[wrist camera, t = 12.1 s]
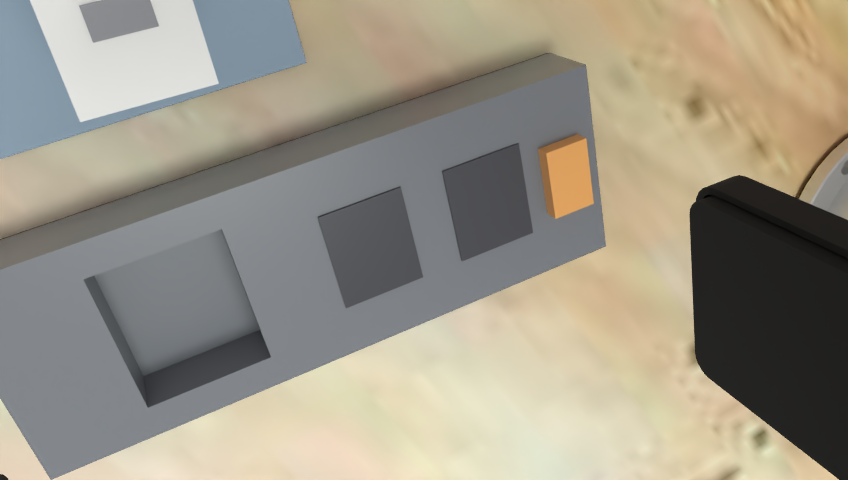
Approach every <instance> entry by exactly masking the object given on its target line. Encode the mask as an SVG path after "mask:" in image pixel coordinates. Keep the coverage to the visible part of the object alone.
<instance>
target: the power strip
mask: <svg viewBox="0 0 848 480" xmlns="http://www.w3.org/2000/svg"><path fill="white" fill-rule="evenodd" d="M605 246H606V243H605V234H604V225H603V216H602V206H601V197H600V188H599V179H598V170H597V161H596V152H595V143H594V134H593V124H592V115H591V106H590V97H589V88H588V79H587V70H586V65H585V64H582V63H579V62H576V61H573V60H569V59H566V58H563V57H560V56H557V55H554V54H551V53H547V54H545V55H542V56H539V57H536V58H533V59H530V60H527V61H524V62H521V63H518V64H515V65H512V66H509V67H506V68H503V69H500V70H498V71H495V72H492V73H489V74H486V75H483V76H480V77H477V78H474V79H471V80H468V81H465V82H462V83H459V84H456V85H453V86H451V87H448V88H445V89H442V90H439V91H436V92H433V93H430V94H427V95H424V96H421V97H418V98H415V99H412V100H409V101H406V102H403V103H401V104H398V105H395V106H392V107H389V108H386V109H383V110H380V111H377V112H374V113H371V114H368V115H365V116H362V117H359V118H356V119H354V120H351V121H348V122H345V123H342V124H339V125H336V126H333V127H330V128H327V129H324V130H321V131H318V132H315V133H312V134H309V135H307V136H304V137H301V138H298V139H295V140H292V141H289V142H286V143H283V144H280V145H277V146H274V147H271V148H268V149H265V150H262V151H260V152H257V153H254V154H251V155H248V156H245V157H242V158H239V159H236V160H233V161H230V162H227V163H224V164H221V165H218V166H215V167H213V168H210V169H207V170H204V171H201V172H198V173H195V174H192V175H189V176H186V177H183V178H180V179H177V180H174V181H171V182H168V183H166V184H163V185H160V186H157V187H154V188H151V189H148V190H145V191H142V192H139V193H136V194H133V195H130V196H127V197H124V198H121V199H119V200H116V201H113V202H110V203H107V204H104V205H101V206H98V207H95V208H92V209H89V210H86V211H83V212H80V213H77V214H74V215H72V216H69V217H66V218H63V219H60V220H57V221H54V222H51V223H48V224H45V225H42V226H39V227H36V228H33V229H30V230H27V231H25V232H22V233H19V234H16V235H13V236H10V237H7V238H4V239H1V240H0V399H1V400H2V402H3V403H4V405H5V407H6V408H7V410H8V411H9V413H10V415H11V416H12V418H13V420H14V421H15V423H16V424H17V426H18V428H19V429H20V431H21V432H22V434H23V436H24V437H25V439H26V440H27V442H28V444H29V445H30V447H31V449H32V450H33V452H34V453H35V455H36V457H37V458H38V460H39V461H40V463H41V465H42V466H43V468H44V470H45V471H46V473H47V474H48V476H49V478H50V479H51V480H52V479H54V478H57V477H59V476H61V475H64V474H66V473H68V472H71V471H73V470H76V469H78V468H80V467H83V466H85V465H87V464H90V463H92V462H95V461H97V460H99V459H102V458H104V457H106V456H109V455H111V454H114V453H116V452H118V451H121V450H123V449H125V448H128V447H130V446H133V445H135V444H137V443H140V442H142V441H144V440H147V439H149V438H151V437H154V436H156V435H159V434H161V433H163V432H166V431H168V430H170V429H173V428H175V427H178V426H180V425H182V424H185V423H187V422H189V421H192V420H194V419H197V418H199V417H201V416H204V415H206V414H208V413H211V412H213V411H216V410H218V409H220V408H223V407H225V406H227V405H230V404H232V403H235V402H237V401H239V400H242V399H244V398H246V397H249V396H251V395H254V394H256V393H258V392H261V391H263V390H265V389H268V388H270V387H273V386H275V385H277V384H280V383H282V382H284V381H287V380H289V379H292V378H294V377H296V376H299V375H301V374H303V373H306V372H308V371H311V370H313V369H315V368H318V367H320V366H322V365H325V364H327V363H330V362H332V361H334V360H337V359H339V358H341V357H344V356H346V355H349V354H351V353H353V352H356V351H358V350H360V349H363V348H365V347H368V346H370V345H372V344H375V343H377V342H379V341H382V340H384V339H387V338H389V337H391V336H394V335H396V334H398V333H401V332H403V331H406V330H408V329H410V328H413V327H415V326H417V325H420V324H422V323H425V322H427V321H429V320H432V319H434V318H436V317H439V316H441V315H444V314H446V313H448V312H451V311H453V310H455V309H458V308H460V307H463V306H465V305H467V304H470V303H472V302H474V301H477V300H479V299H482V298H484V297H486V296H489V295H491V294H493V293H496V292H498V291H501V290H503V289H505V288H508V287H510V286H512V285H515V284H517V283H520V282H522V281H524V280H527V279H529V278H531V277H534V276H536V275H539V274H541V273H543V272H546V271H548V270H550V269H553V268H555V267H558V266H560V265H562V264H565V263H567V262H569V261H572V260H574V259H577V258H579V257H581V256H584V255H586V254H588V253H591V252H593V251H596V250H598V249H600V248H603V247H605Z"/></svg>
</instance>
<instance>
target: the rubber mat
mask: <svg viewBox="0 0 848 480" xmlns="http://www.w3.org/2000/svg"><path fill="white" fill-rule="evenodd" d="M193 3H194V6H195V9H196V13H197V16H198V19H199V22H200V25H201V28H202V32H203V35H204V38H205V41H206V44H207V47H208V51H209V54H210V57H211V60H212V63H213V67H214V70H215V73H216V76H217V79H218V82H219V84H216V85H212V86H209V87H205V88H202V89H198V90H194V91H191V92H187V93H184V94H180V95H176V96H173V97H169V98H166V99H162V100H159V101H155V102H151V103H148V104H144V105H141V106H137V107H133V108H130V109H126V110H123V111H119V112H116V113H112V114H108V115H105V116H101V117H98V118H94V119H90V120H87V121H83V122H80V121H79V118H78V116H77V113H76V111H75V109H74V106H73V104H72V101H71V99H70V97H69V94H68V92H67V89H66V87H65V84H64V82H63V80H62V77H61V75H60V72H59V70H58V67H57V65H56V63H55V60H54V58H53V55H52V53H51V50H50V48H49V46H48V43H47V41H46V38H45V36H44V34H43V31H42V29H41V26H40V24H39V21H38V19H37V17H36V14H35V12H34V9H33V7H32V4H31V2H30V0H0V159H2V158H5V157H8V156H12V155H15V154H18V153H21V152H24V151H27V150H31V149H34V148H37V147H40V146H43V145H46V144H50V143H53V142H56V141H59V140H62V139H65V138H69V137H72V136H75V135H78V134H81V133H84V132H88V131H91V130H94V129H97V128H100V127H103V126H107V125H110V124H113V123H116V122H119V121H122V120H126V119H129V118H132V117H135V116H138V115H141V114H145V113H148V112H151V111H154V110H157V109H161V108H164V107H167V106H170V105H173V104H176V103H180V102H183V101H186V100H189V99H192V98H195V97H199V96H202V95H205V94H208V93H211V92H214V91H218V90H221V89H224V88H227V87H230V86H233V85H237V84H240V83H243V82H246V81H249V80H252V79H256V78H259V77H262V76H265V75H268V74H271V73H275V72H278V71H281V70H284V69H287V68H290V67H294V66H297V65H300V64H303V63H306V59H305V56H304V52H303V49H302V45H301V42H300V38H299V35H298V31H297V28H296V25H295V21H294V18H293V14H292V11H291V7H290V4H289V0H193Z"/></svg>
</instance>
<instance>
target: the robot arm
mask: <svg viewBox="0 0 848 480" xmlns="http://www.w3.org/2000/svg"><path fill="white" fill-rule="evenodd" d="M690 235H691V260H692V285H693V310H694V335H695V354H696V359H697V362H698V364H699V366H700V368H701V370H702V371H703V372H704V374H705V375H706V376H707V377H708V378H709V379H711V380H712V381H713V382H715V383H716V384H717V385H718V386H720V387H721V388H722V389H724V390H725V391H726V392H727V393H729V394H730V395H731V396H733V397H734V398H735V399H736V400H738V401H739V402H740V403H742V404H743V405H744V406H745V407H747V408H748V409H749V410H751V411H752V412H753V413H754V414H756V415H757V416H758V417H760V418H761V419H762V420H763V421H765V422H766V423H767V424H769V425H770V426H771V427H772V428H774V429H775V430H776V431H778V432H779V433H780V434H781V435H783V436H784V437H785V438H786V439H788V440H789V441H790V442H792V443H793V444H794V445H795V446H797V447H798V448H799V449H801V450H802V451H803V452H804V453H806V454H807V455H808V456H810V457H811V458H812V459H813V460H815V461H816V462H817V463H819V464H820V465H821V466H822V467H824V468H825V469H826V470H828V471H829V472H830V473H831V474H833V475H834V476H835V477H837V478H838V479H839V480H848V138H846V139H845V140H844V141H843V142H842V143H841V144H840V145H838V146H837V147H836V148H835V149H834V150H833V151H832V152H831V153H830V154H829V155H828V156H827V157H826V159H825V160H824V161H823V162H822V163H821V164H820V165H819V166H818V168H817V169H816V171H815V172H814V174H813V175H812V177H811V178H810V180H809V181H808V182H807V184H806V186H805V188H804V190H803V192H802V193H801V195H800V197H799V199H797V198H795V197H792V196H790V195H788V194H785V193H783V192H781V191H778V190H776V189H774V188H771V187H769V186H766V185H764V184H762V183H759V182H757V181H755V180H752V179H750V178H748V177H745V176H740V175H738V176H734V177H731V178H728V179H726V180H723V181H721V182H718V183H716V184H713V185H710V186H708V187H705V188H703V189H702V190H701V191H700V192H699V193H698V195H697V198H696V202H695V203H694V204H693V205H692V206H691V209H690ZM0 480H8V478H7V477H6V476H4V475H2V474H0Z"/></svg>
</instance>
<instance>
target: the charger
mask: <svg viewBox="0 0 848 480" xmlns="http://www.w3.org/2000/svg"><path fill="white" fill-rule="evenodd" d="M30 2H31V4H32V7H33V9H34V12H35V14H36V17H37V19H38V21H39V24H40V26H41V29H42V31H43V34H44V36H45V38H46V41H47V43H48V46H49V48H50V50H51V53H52V55H53V58H54V60H55V63H56V65H57V67H58V70H59V72H60V75H61V77H62V80H63V82H64V84H65V87H66V89H67V92H68V94H69V97H70V99H71V101H72V104H73V106H74V109H75V111H76V113H77V116H78V118H79V121H80V122H83V121H87V120H90V119H94V118H98V117H101V116H105V115H108V114H112V113H116V112H119V111H123V110H126V109H130V108H133V107H137V106H141V105H144V104H148V103H151V102H155V101H159V100H162V99H166V98H169V97H173V96H176V95H180V94H184V93H187V92H191V91H194V90H198V89H202V88H205V87H209V86H212V85H216V84H219V82H218V79H217V76H216V73H215V70H214V67H213V63H212V60H211V57H210V54H209V51H208V47H207V44H206V41H205V38H204V35H203V32H202V28H201V25H200V22H199V19H198V16H197V13H196V9H195V6H194V3H193V0H30Z"/></svg>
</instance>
